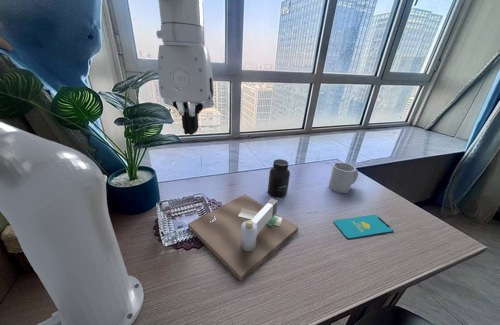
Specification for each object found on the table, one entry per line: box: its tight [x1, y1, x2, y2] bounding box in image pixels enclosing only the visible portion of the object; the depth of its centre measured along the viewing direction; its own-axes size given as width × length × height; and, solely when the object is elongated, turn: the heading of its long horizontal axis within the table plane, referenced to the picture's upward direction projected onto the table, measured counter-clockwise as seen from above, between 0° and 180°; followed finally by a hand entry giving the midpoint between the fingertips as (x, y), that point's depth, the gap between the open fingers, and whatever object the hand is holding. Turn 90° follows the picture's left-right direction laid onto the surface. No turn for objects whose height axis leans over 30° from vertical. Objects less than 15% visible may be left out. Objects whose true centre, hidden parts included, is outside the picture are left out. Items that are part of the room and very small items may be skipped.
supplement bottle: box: [267, 159, 291, 199], centre depth 71 cm, size 7×7×12 cm
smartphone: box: [333, 214, 394, 240], centre depth 60 cm, size 7×1×15 cm
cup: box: [328, 161, 359, 194], centre depth 77 cm, size 7×10×9 cm
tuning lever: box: [241, 198, 279, 252], centre depth 53 cm, size 14×4×7 cm, turn 147°
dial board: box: [187, 193, 299, 282], centre depth 57 cm, size 21×21×2 cm
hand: (191, 132), depth 47 cm, fingers closed
